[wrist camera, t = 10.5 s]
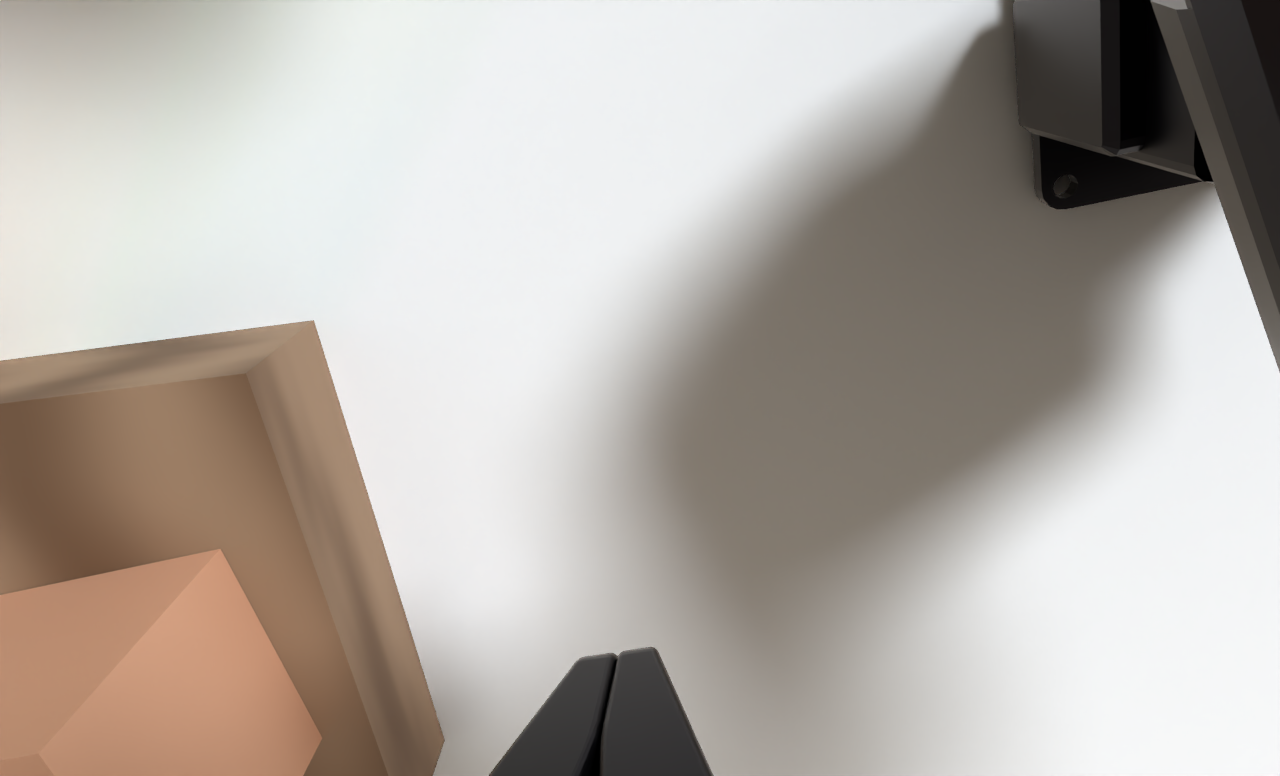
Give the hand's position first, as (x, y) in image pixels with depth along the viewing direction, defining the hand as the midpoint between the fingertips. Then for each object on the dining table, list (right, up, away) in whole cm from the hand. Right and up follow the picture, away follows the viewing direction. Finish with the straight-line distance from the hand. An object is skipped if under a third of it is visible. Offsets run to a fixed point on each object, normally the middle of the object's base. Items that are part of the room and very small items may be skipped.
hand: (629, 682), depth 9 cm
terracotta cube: (-12, -4, +12) cm, 17 cm away
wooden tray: (-12, -2, +16) cm, 20 cm away
